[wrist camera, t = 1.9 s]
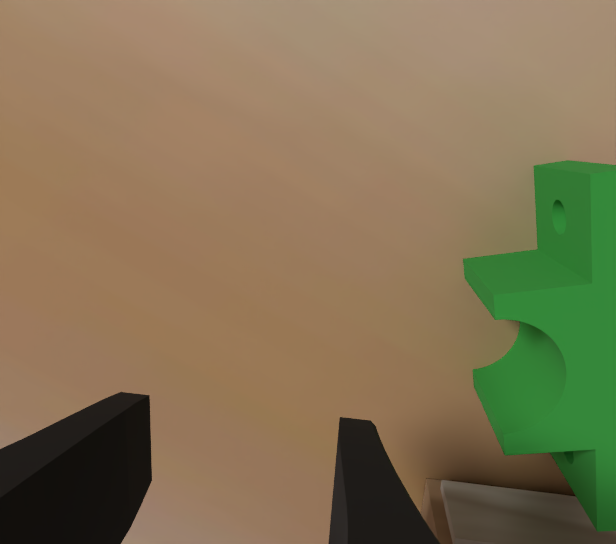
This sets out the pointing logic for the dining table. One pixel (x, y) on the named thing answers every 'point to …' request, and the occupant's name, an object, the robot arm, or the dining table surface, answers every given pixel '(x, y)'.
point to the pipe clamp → (559, 334)
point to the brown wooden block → (506, 516)
